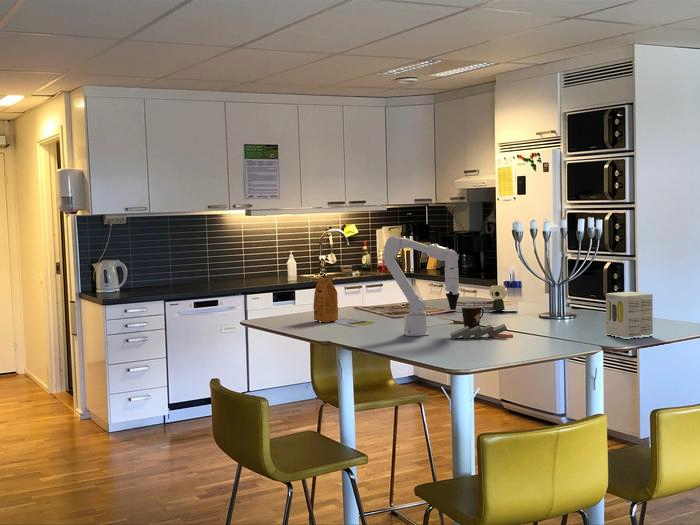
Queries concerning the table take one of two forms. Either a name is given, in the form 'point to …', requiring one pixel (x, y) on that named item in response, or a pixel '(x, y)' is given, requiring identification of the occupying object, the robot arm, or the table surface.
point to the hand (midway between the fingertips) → (453, 309)
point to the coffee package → (325, 301)
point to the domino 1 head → (460, 332)
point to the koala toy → (498, 297)
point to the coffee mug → (472, 316)
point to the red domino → (503, 335)
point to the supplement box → (629, 314)
